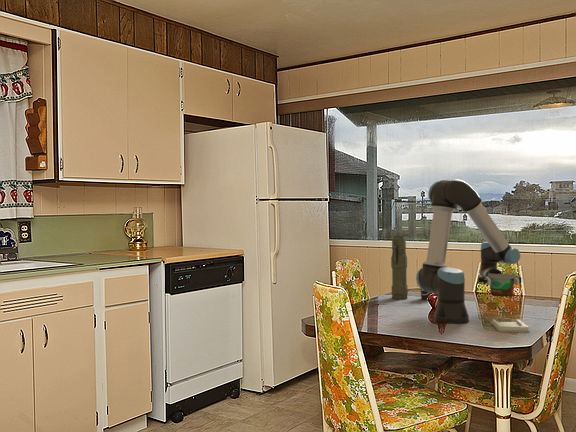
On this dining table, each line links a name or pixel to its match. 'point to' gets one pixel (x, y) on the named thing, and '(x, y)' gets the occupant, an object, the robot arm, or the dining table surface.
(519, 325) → the cream rectangular tray
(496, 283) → the food container
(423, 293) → the coffee cup
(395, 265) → the olive brown statue
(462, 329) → the dining table surface
